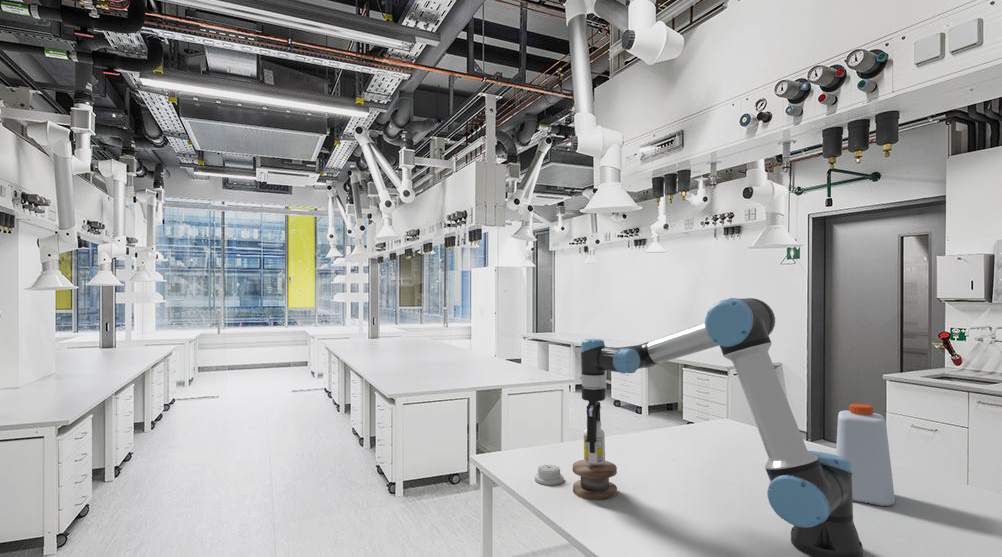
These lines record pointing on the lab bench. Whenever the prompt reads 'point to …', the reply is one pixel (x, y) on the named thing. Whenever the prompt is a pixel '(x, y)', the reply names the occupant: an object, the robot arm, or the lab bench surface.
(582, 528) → the lab bench surface
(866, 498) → the plastic bottle
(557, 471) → the mechanical component
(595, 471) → the bobbin
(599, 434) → the supplement bottle
